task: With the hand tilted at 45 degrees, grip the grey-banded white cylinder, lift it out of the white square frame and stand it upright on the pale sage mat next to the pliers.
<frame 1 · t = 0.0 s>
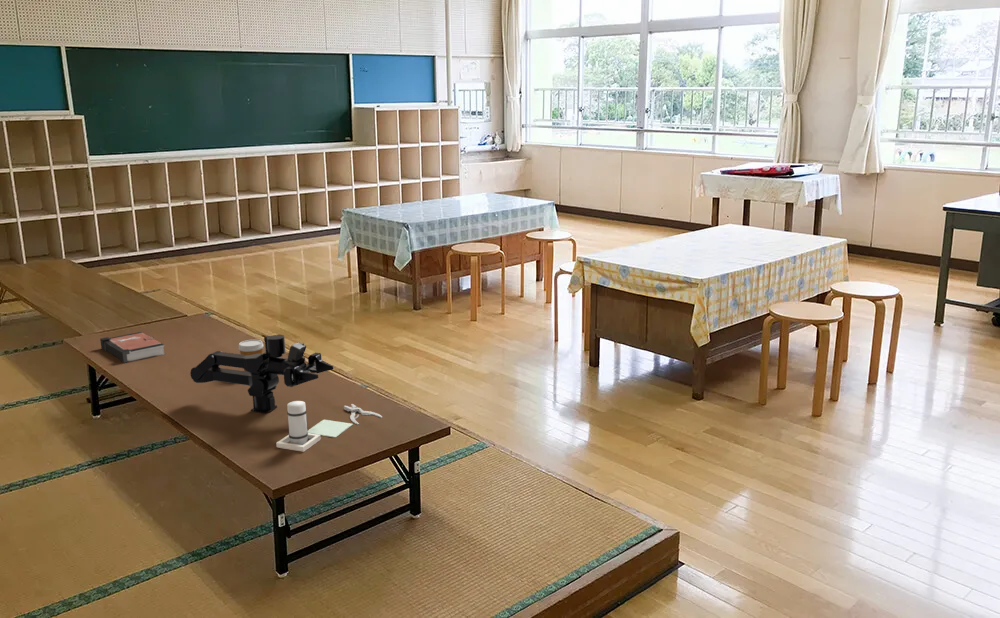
hand: (325, 372, 265), 17 cm above the table, tool horizontal, fingers open, 9 cm apart
grey-banded white cylinder: (297, 423, 249), in the white square frame
book: (134, 352, 341), on the table
disposable coffee cup: (253, 372, 315), on the table
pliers: (359, 416, 274), on the table
white square frame: (299, 443, 251), on the table
mat: (329, 428, 262), on the table
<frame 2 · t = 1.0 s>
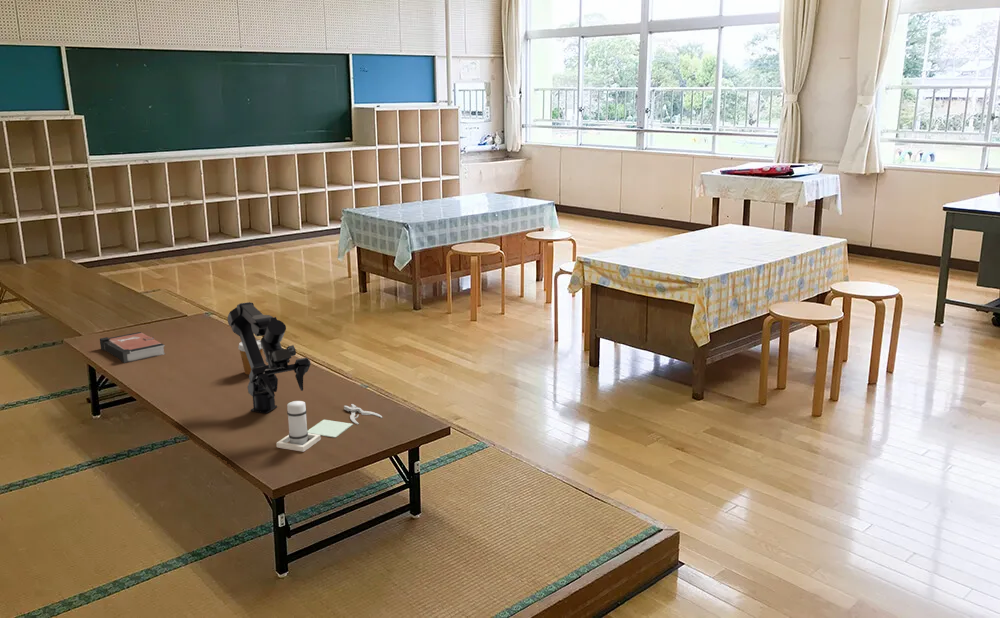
hand: (288, 393, 254), 14 cm above the table, tool tilted 45°, fingers open, 9 cm apart
nothing on the table moved.
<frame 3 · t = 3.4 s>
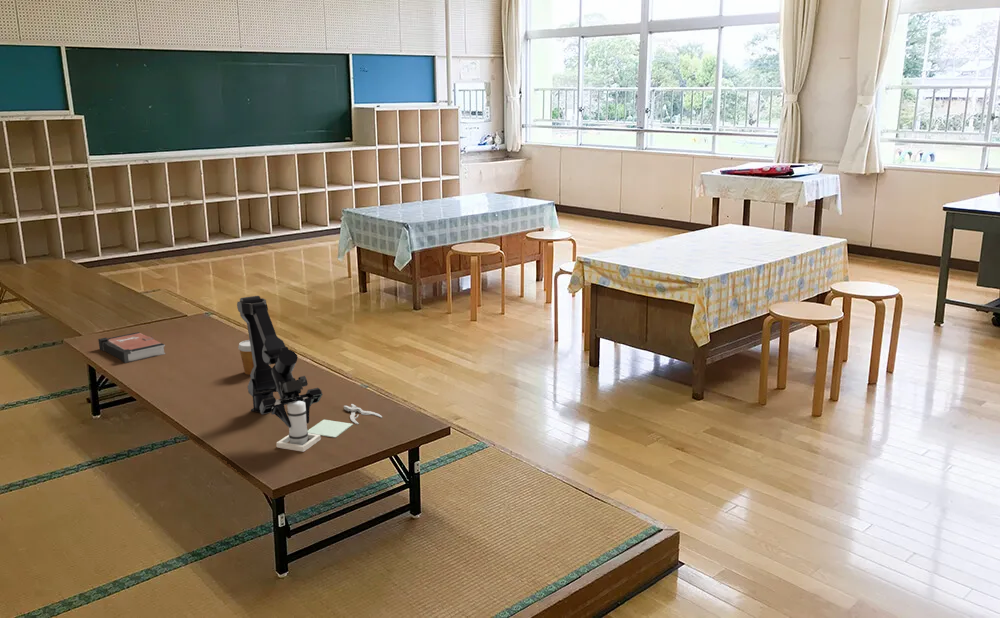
hand: (299, 425, 248), 7 cm above the table, tool tilted 45°, fingers closed on grey-banded white cylinder, 5 cm apart
grey-banded white cylinder: (297, 423, 249), in the white square frame, touching gripper
everything else where it was.
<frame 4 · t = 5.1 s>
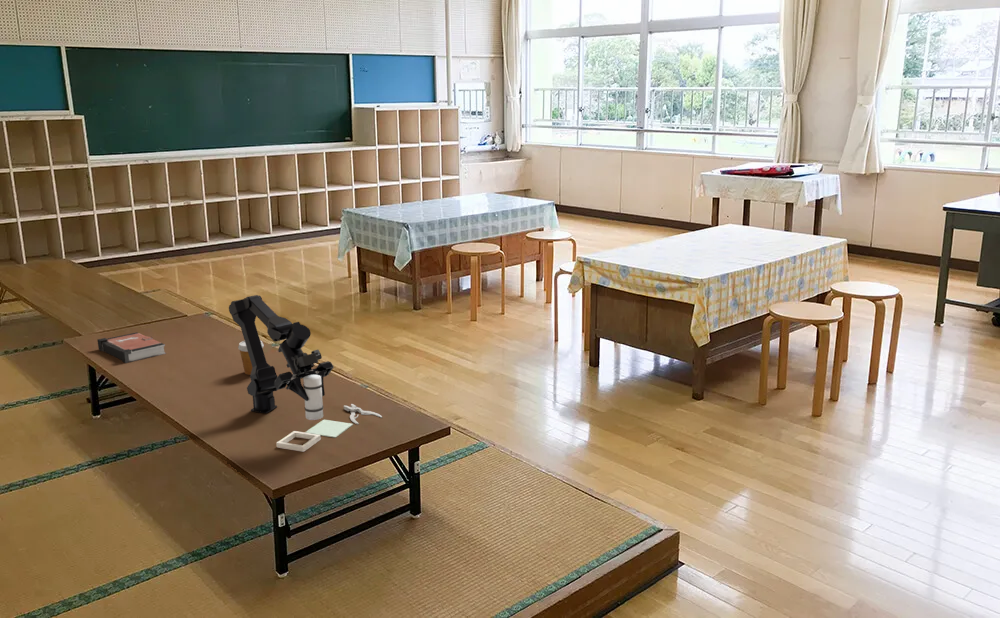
hand: (315, 398, 252), 13 cm above the table, tool tilted 45°, fingers closed on grey-banded white cylinder, 5 cm apart
grey-banded white cylinder: (313, 397, 253), point 13 cm above the table, touching gripper
everything else where it was.
when the fingers open (8 cm above the table, at t = 6.9 s): grey-banded white cylinder drops 1 cm, resting on mat.
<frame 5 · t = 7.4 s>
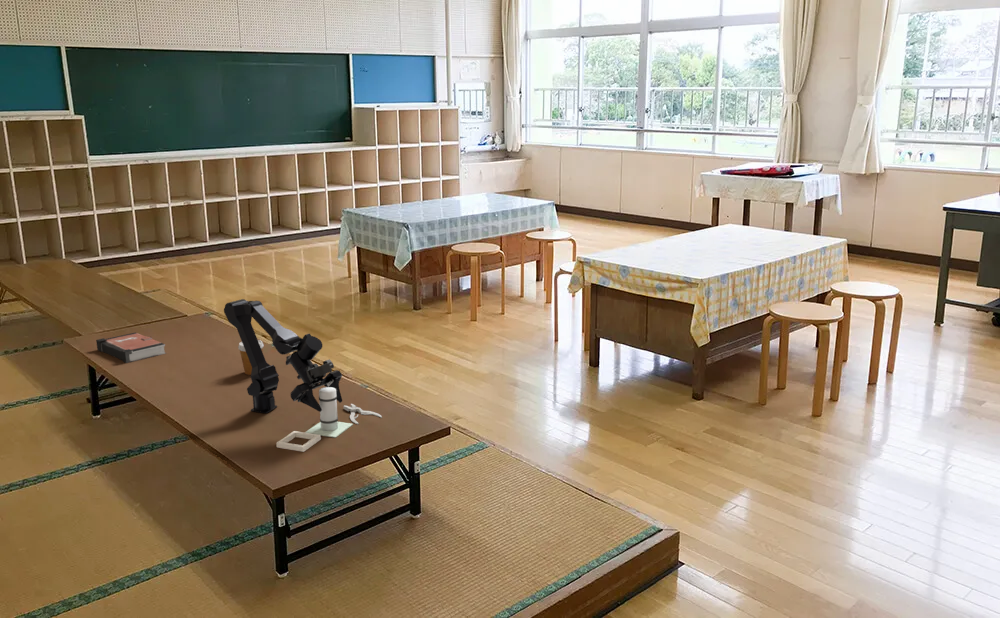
hand: (331, 406, 259), 8 cm above the table, tool tilted 45°, fingers open, 9 cm apart
grey-banded white cylinder: (328, 409, 260), resting on mat
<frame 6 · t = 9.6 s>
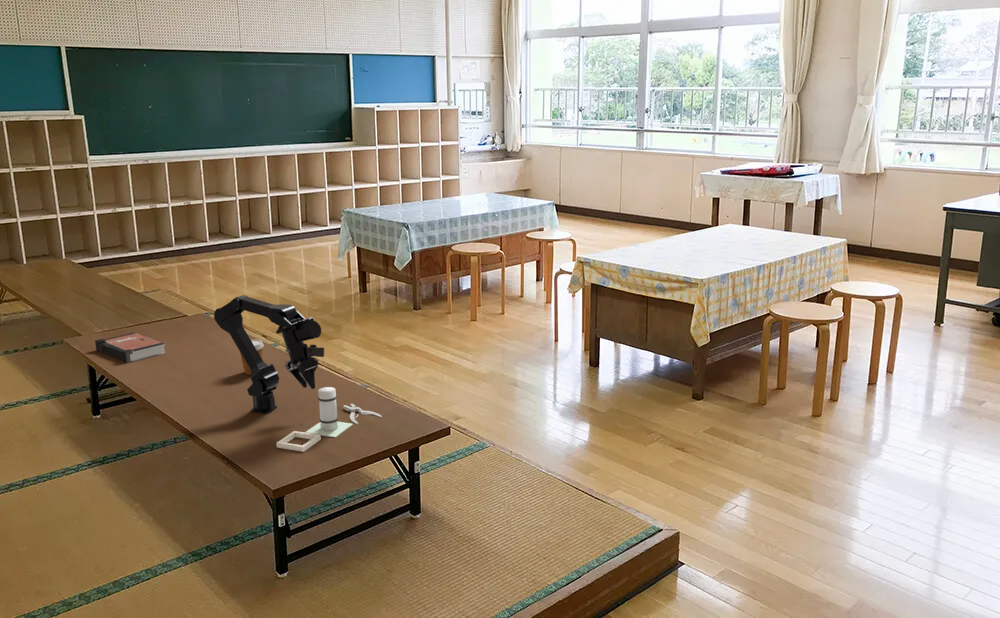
hand: (309, 388, 267), 11 cm above the table, tool tilted 20°, fingers open, 9 cm apart
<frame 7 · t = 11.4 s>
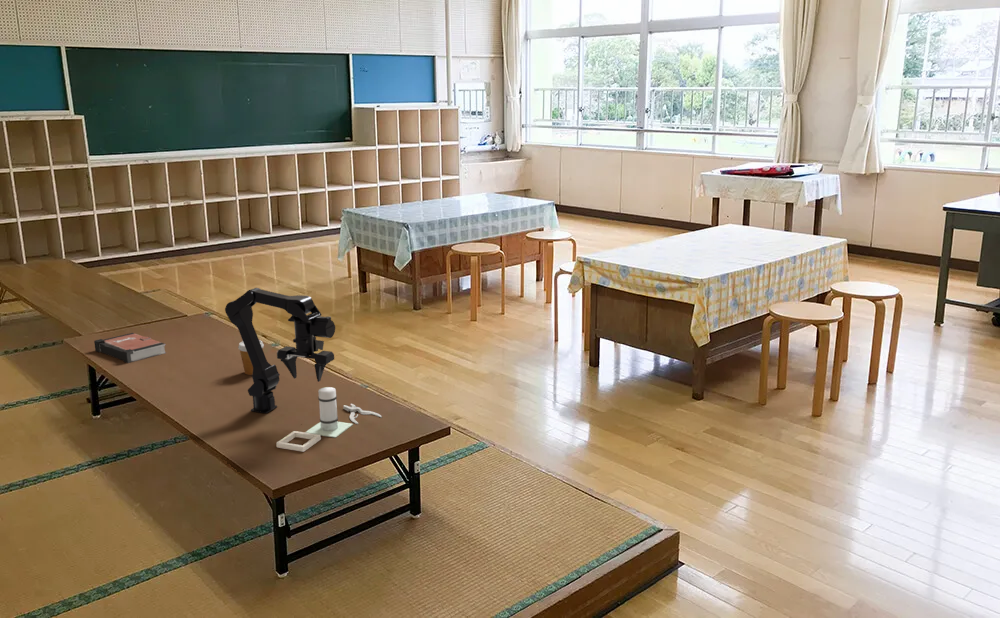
hand: (307, 379, 269), 13 cm above the table, tool pointing down, fingers open, 9 cm apart
at the end: grey-banded white cylinder inside the target area on the mat (0.0 cm from its centre), point 6.8 cm above the mat's base; grey-banded white cylinder tilted 1°; the gripper is holding nothing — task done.
